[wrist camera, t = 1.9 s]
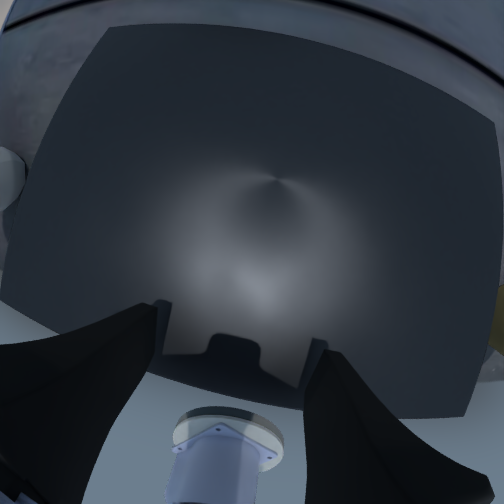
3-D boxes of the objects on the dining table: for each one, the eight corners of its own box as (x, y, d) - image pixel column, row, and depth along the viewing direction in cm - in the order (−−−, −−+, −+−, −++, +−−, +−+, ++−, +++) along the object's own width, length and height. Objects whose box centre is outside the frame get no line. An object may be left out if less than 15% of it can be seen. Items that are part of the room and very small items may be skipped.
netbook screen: (455, 411, 11) (464, 417, 10) (8, 299, 12) (-2, 299, 11) (487, 127, 13) (494, 122, 12) (113, 35, 14) (109, 27, 13)
